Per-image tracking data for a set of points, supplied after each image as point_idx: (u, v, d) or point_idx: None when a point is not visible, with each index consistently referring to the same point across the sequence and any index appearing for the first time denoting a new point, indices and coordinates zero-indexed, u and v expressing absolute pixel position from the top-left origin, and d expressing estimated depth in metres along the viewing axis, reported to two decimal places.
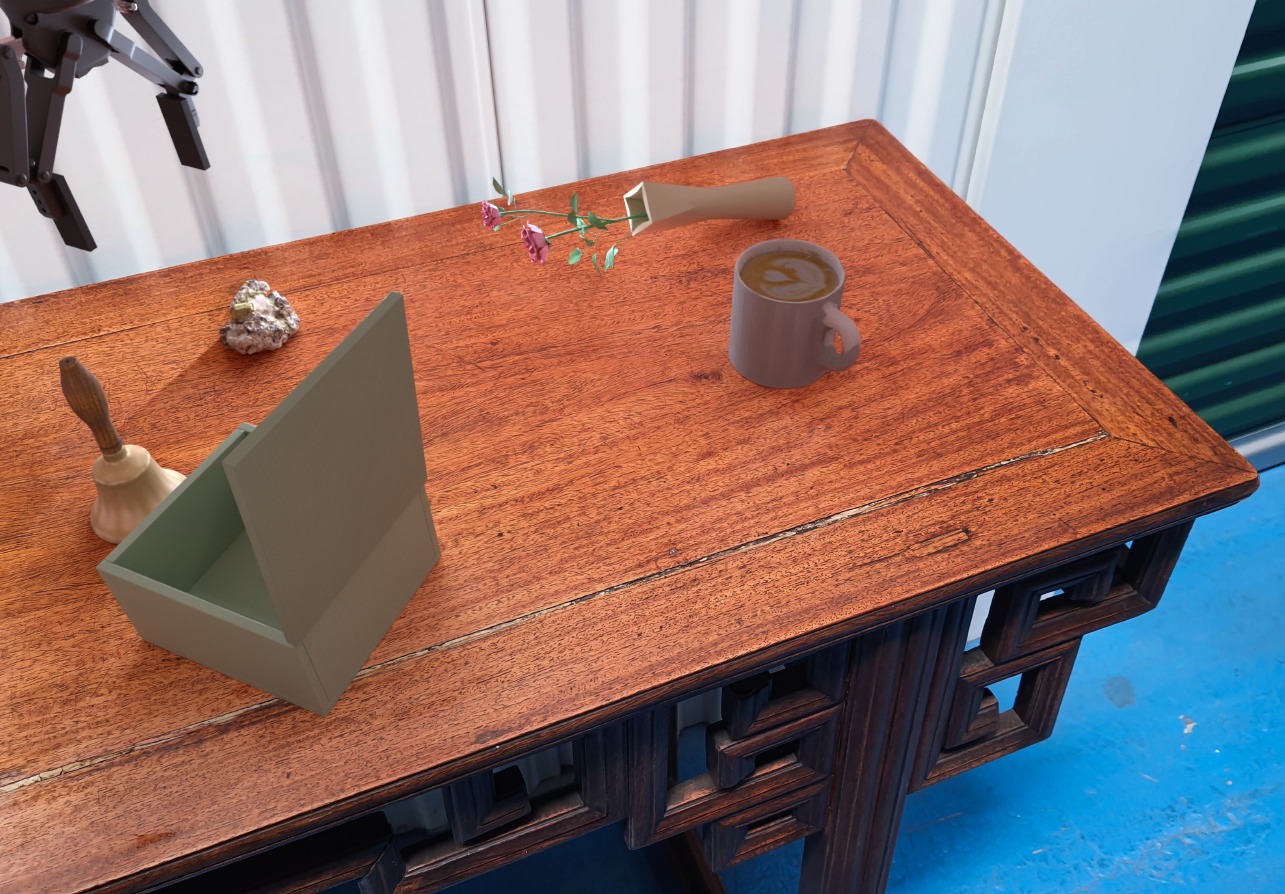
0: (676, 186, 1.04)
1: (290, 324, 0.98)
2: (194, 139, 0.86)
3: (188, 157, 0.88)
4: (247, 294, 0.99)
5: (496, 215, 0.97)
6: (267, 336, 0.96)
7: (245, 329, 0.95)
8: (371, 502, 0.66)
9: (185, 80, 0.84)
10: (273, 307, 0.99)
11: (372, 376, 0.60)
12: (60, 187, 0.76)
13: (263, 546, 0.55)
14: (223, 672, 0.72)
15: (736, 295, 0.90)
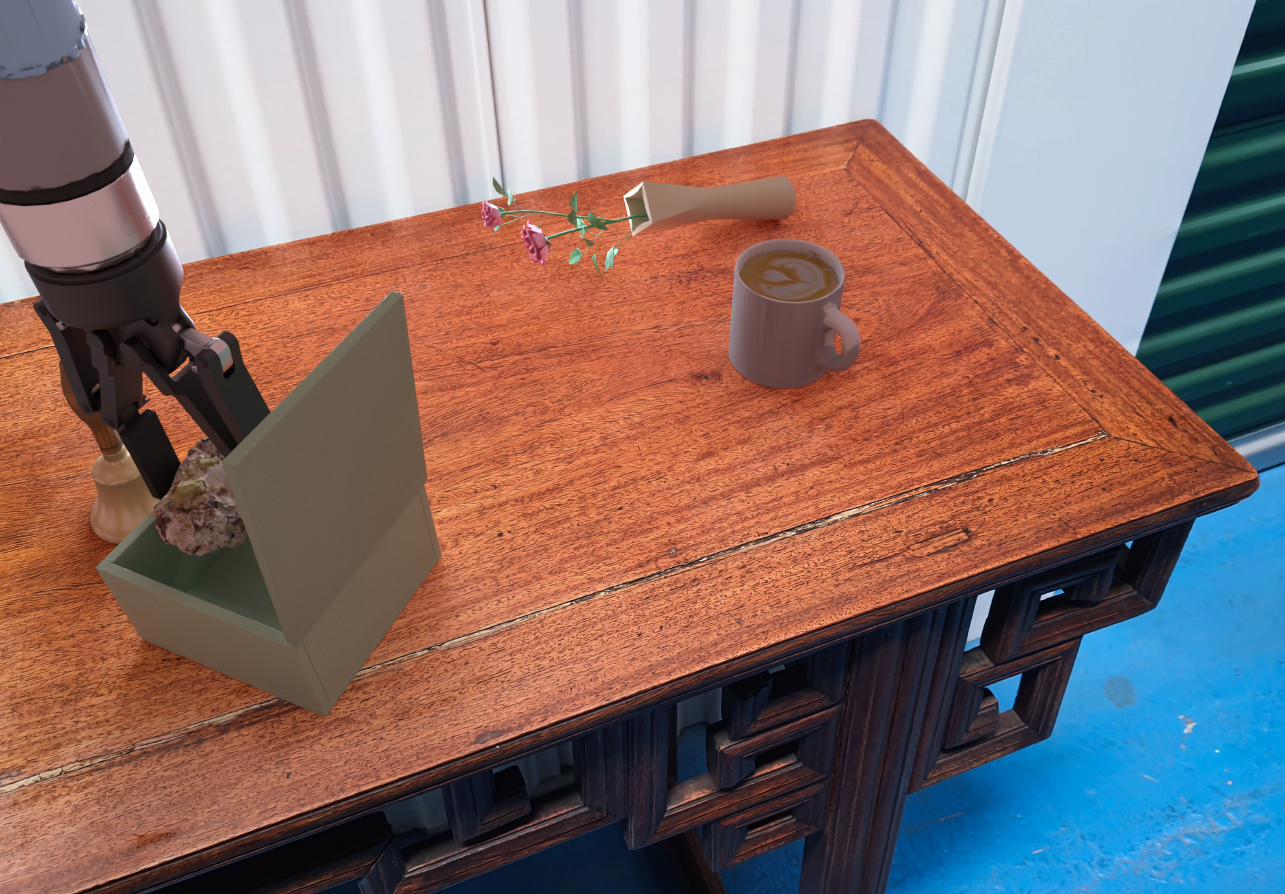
0: (677, 186, 1.04)
1: None
2: (171, 446, 0.71)
3: (168, 479, 0.72)
4: (197, 465, 0.70)
5: (496, 215, 0.97)
6: (223, 531, 0.68)
7: (192, 523, 0.67)
8: (371, 502, 0.66)
9: None
10: None
11: (372, 376, 0.60)
12: None
13: (263, 546, 0.55)
14: (223, 672, 0.72)
15: (736, 295, 0.90)
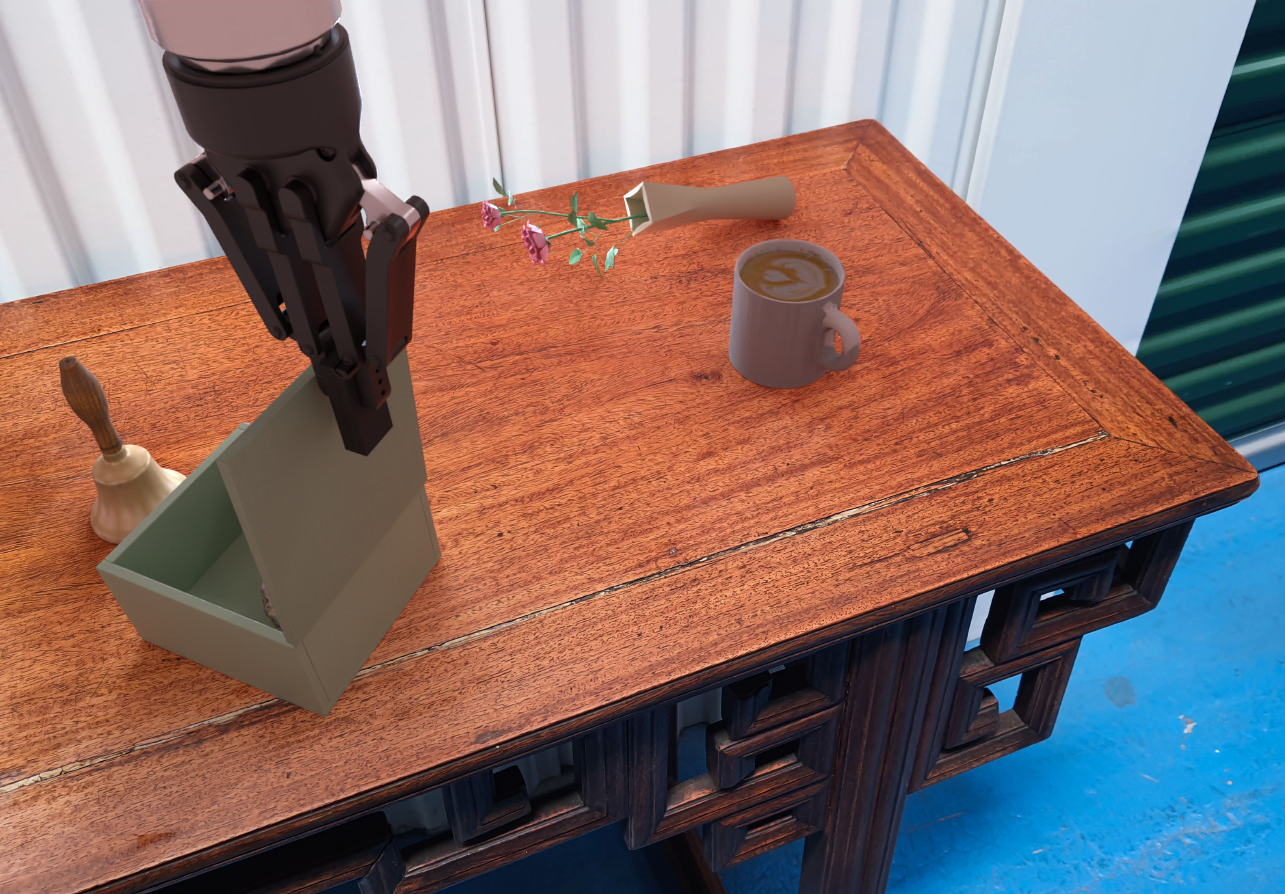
0: (677, 186, 1.04)
1: None
2: None
3: None
4: None
5: (496, 215, 0.97)
6: None
7: None
8: (370, 502, 0.66)
9: None
10: None
11: None
12: None
13: (259, 544, 0.55)
14: (223, 672, 0.72)
15: (736, 295, 0.90)
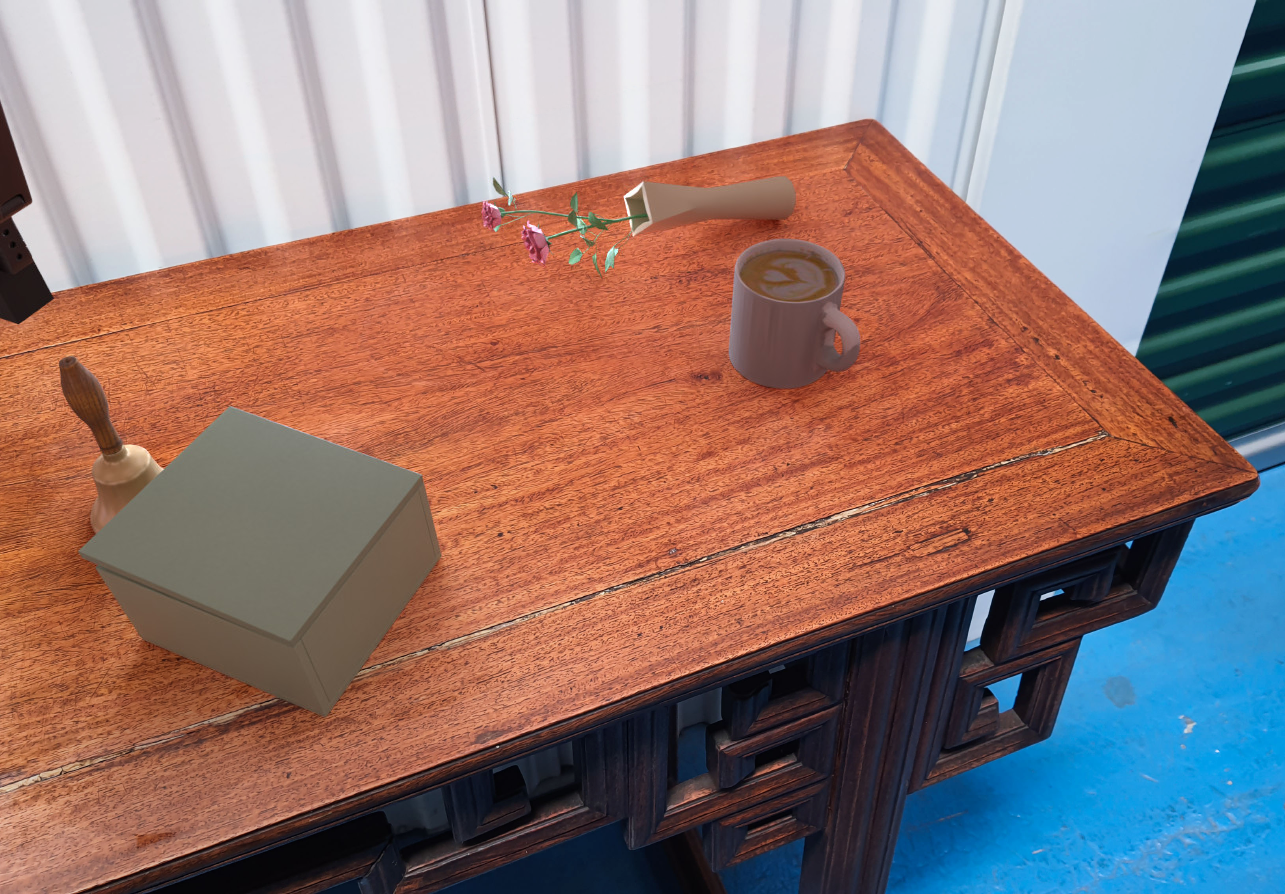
0: (677, 186, 1.04)
1: None
2: None
3: None
4: None
5: (496, 215, 0.97)
6: None
7: None
8: (321, 516, 0.70)
9: None
10: None
11: (230, 453, 0.74)
12: None
13: (158, 584, 0.65)
14: (223, 672, 0.72)
15: (736, 295, 0.90)
